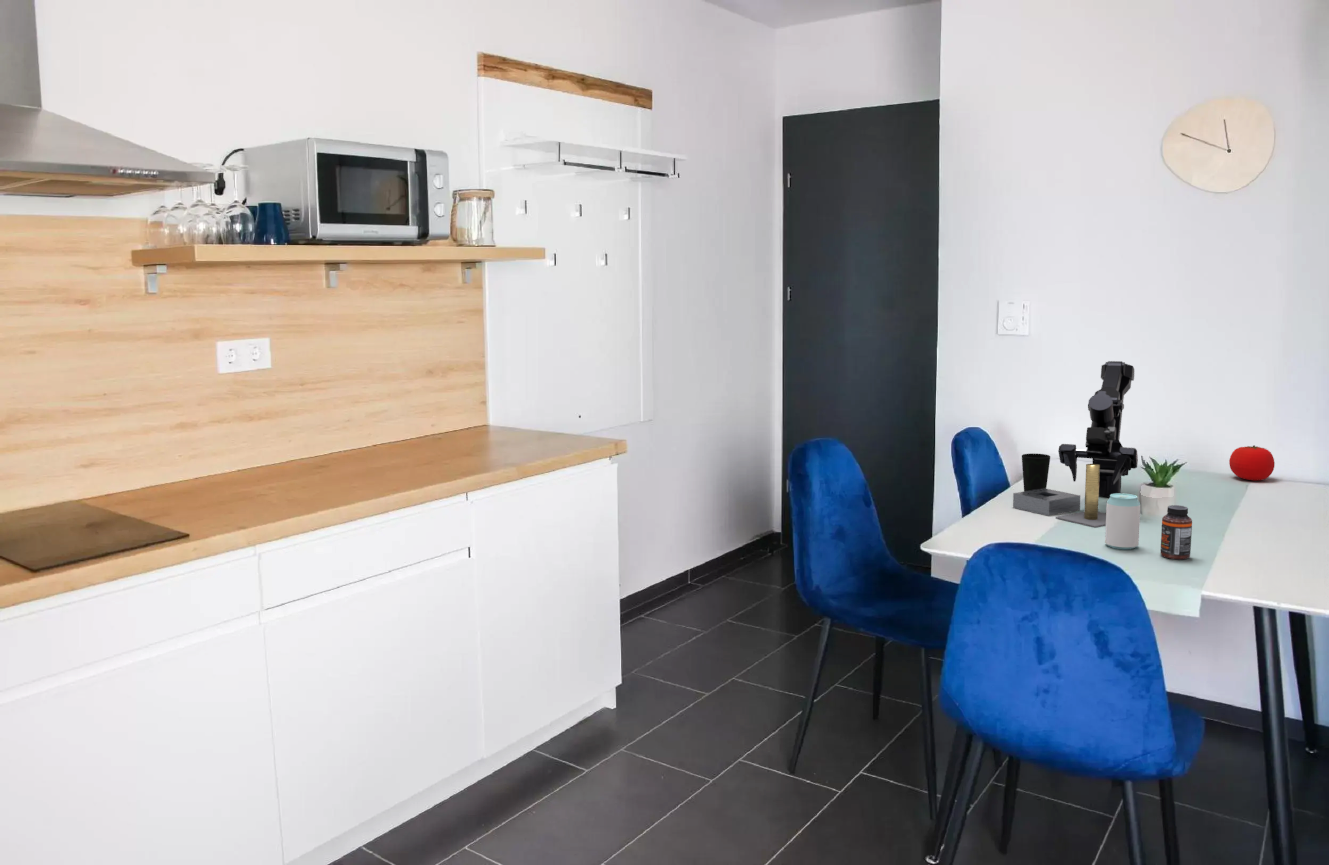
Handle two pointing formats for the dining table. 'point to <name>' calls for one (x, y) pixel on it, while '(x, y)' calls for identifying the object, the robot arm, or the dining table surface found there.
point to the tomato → (1252, 463)
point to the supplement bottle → (1176, 533)
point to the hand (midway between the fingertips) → (1093, 482)
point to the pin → (1091, 491)
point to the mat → (1080, 519)
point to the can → (1122, 521)
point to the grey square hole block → (1046, 501)
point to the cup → (1035, 471)
